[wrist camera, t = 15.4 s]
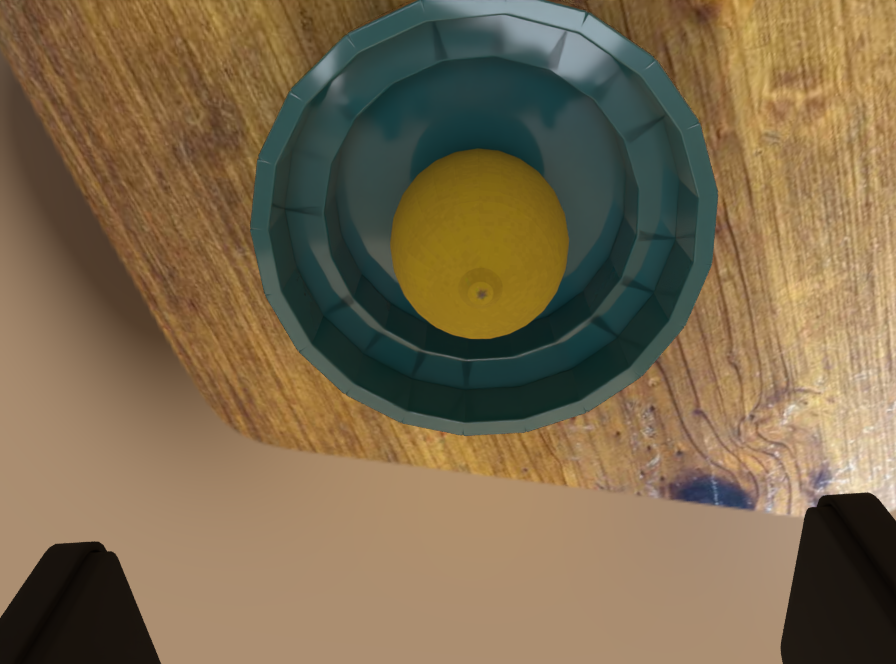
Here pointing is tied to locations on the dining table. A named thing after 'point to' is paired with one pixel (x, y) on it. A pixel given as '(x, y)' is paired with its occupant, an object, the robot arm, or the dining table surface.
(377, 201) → the bowl
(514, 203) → the lemon
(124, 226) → the dining table surface
